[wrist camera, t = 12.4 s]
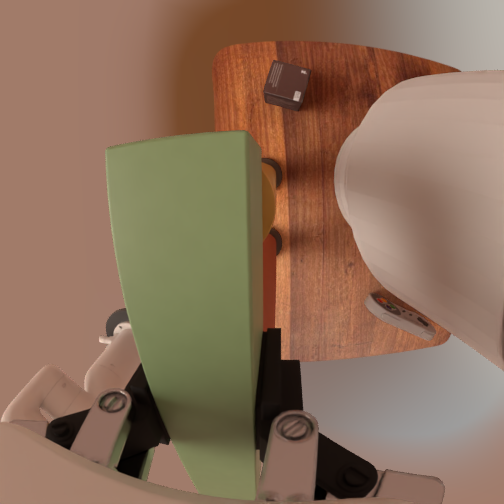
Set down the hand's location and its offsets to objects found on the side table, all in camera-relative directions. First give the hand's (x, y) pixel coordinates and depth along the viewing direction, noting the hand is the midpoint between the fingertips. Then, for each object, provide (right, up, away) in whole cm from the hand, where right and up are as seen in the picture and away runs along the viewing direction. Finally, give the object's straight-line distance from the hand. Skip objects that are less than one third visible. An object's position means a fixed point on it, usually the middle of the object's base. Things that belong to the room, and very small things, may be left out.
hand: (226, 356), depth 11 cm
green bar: (0, 0, 0) cm, 0 cm away
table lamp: (+24, +17, +33) cm, 45 cm away
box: (+7, +32, +30) cm, 44 cm away
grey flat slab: (+32, -8, +40) cm, 52 cm away
